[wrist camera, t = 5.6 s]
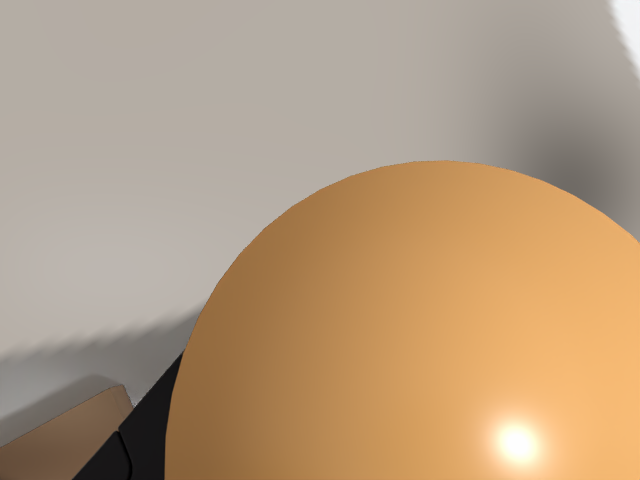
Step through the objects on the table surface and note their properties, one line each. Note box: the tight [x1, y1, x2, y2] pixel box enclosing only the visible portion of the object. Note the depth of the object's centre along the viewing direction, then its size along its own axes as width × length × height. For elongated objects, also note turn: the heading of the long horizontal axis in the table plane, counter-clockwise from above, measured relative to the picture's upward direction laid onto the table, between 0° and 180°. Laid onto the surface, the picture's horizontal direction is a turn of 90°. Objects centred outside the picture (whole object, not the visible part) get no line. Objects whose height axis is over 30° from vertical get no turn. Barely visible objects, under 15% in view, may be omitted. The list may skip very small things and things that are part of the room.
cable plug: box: [165, 161, 640, 480], centre depth 9 cm, size 5×5×12 cm
